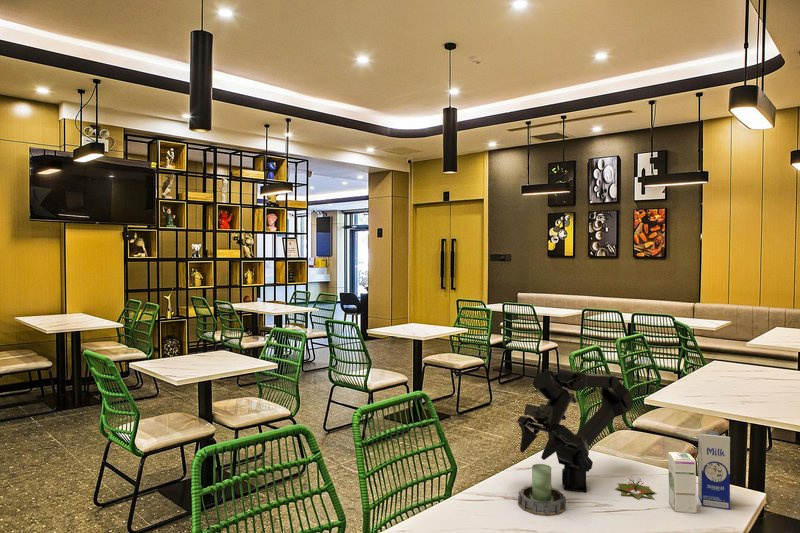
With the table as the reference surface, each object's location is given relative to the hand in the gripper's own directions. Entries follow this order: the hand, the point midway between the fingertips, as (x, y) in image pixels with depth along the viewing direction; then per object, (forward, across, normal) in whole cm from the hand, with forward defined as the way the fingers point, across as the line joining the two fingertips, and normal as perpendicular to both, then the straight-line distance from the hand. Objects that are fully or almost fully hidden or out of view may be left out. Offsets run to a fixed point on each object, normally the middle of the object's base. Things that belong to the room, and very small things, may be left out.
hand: (531, 455), depth 152 cm
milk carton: (-17, +22, +45) cm, 52 cm away
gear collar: (+10, +1, +10) cm, 14 cm away
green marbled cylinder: (+9, +1, +10) cm, 13 cm away
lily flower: (-9, +7, +34) cm, 36 cm away
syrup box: (-10, +20, +36) cm, 43 cm away
